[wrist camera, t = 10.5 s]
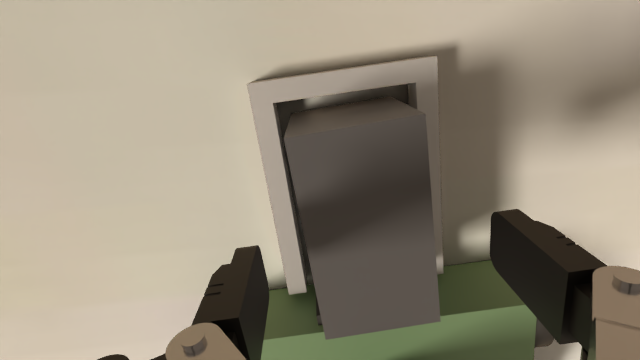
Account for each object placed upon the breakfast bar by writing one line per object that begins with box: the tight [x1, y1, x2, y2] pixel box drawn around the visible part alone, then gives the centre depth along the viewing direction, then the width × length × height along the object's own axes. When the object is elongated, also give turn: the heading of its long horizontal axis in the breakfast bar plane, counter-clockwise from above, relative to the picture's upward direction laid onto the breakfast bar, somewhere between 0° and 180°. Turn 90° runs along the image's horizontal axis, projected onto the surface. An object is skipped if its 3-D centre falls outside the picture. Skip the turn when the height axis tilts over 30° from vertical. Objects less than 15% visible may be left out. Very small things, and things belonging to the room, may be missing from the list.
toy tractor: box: [247, 56, 554, 360], centre depth 16 cm, size 22×18×11 cm
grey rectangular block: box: [284, 96, 441, 340], centre depth 17 cm, size 9×5×6 cm, turn 10°
